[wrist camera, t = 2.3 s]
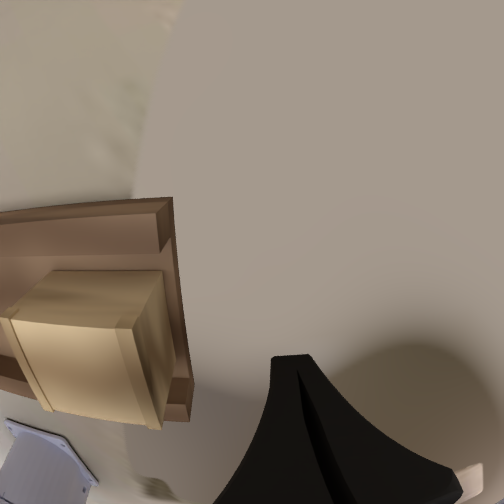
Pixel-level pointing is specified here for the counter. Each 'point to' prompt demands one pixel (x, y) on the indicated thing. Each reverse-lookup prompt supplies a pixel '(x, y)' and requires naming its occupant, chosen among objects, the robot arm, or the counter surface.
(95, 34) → the counter surface
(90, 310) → the box
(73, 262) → the bay
